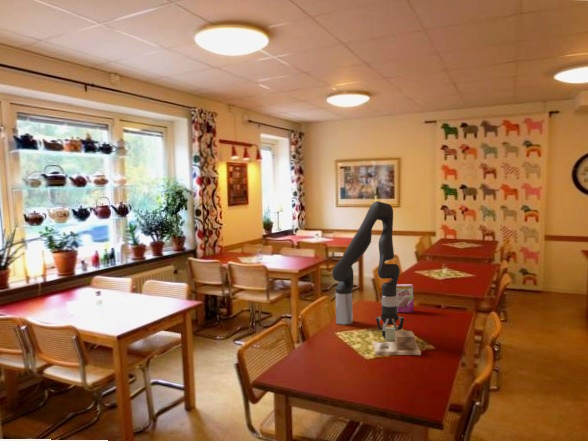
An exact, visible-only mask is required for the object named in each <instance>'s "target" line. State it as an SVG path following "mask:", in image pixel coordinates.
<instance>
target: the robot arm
mask: <svg viewBox="0 0 588 441" xmlns="http://www.w3.org/2000/svg"><path fill="white" fill-rule="evenodd" d="M377 221H381V223H382V231H381V235H380V237H379V239H378V253H379V262H378V266H377V267H378V268H377V276H378V277H379V278H380V279H385V280H387V279H390V280H389V281H387V282H384V283H382V284H381V315H380V316H376V317H375V321H376V324H377V328H378V330H379V331H381V336H382V338H383V339H385V328H386V327H387V326H388V325H391V326H393V327H394V328H395V330H396V331H402V329H403V325H404V322H405V318H404V317H403V316H399V315H398V312H397V295H396V286H397V284H398V281H399V277H400V273H401V270H400V266H399V265H398V264H396V263H386V262H387V261H390V260H394V258H395V251H394V244H393V242H394V241H393V227H394V209H393V206H392V205H391V204H389V203H386V202H382V201H374V202H373V203H372V204H371V205H370V206H369V208H368V211H367V213H366V215H365V217H364V219H363V221H362V223H361V224H360V226H359V228H358V230H357V232H356V233H355V235H354V236H353V238H352V239H351V241H350V242H349V245H348V246H347V248H346V250H345V251H344V253H343V255H342V257H341V258H340V259H339V260H338V262H337V263H336V264H335V265H334V266H333V269H332V271H331V274H332V278H333V280H334V281H336V282H337V284H336V286H335V292H334V293H335V323H336V324H337V325H343V326H344V325H345V326H346V325H352V324H353V322H354V321H353V319H354V318H353V287H354V270H353V265H354V264H355V263H356V261H357V260H359V259H360V258H361V257H362V255H364V254H365V252H366V251H367V250H368V248H369V247H370V244H371V243H372V237H373V236H372V230H373V227H374V226H375V224H376V222H377ZM381 320H382V321H383V323H382V326H381ZM397 321H398V322H399V324H398V326H397Z"/></svg>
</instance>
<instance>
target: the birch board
mask: <svg viewBox="0 0 588 441" xmlns="http://www.w3.org/2000/svg"><path fill="white" fill-rule="evenodd" d="M372 346H373V350H374V355H375V356H378V355H379V356H388V355H389V356H390V355H391V356H405V355H406V356H421V355H422V351H421V350H420V347H419V346H418V344H417V342H416V341H415V350H397V348H396V345H395V341H372Z"/></svg>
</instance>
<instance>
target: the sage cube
mask: <svg viewBox="0 0 588 441" xmlns="http://www.w3.org/2000/svg"><path fill="white" fill-rule="evenodd" d="M395 331H396V330H395V327H394V326H393V327H392V326H391V327H389V326H388V327H387V326H386V328H385V338H384V340H385V342H395Z"/></svg>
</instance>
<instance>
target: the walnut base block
mask: <svg viewBox="0 0 588 441" xmlns="http://www.w3.org/2000/svg"><path fill="white" fill-rule="evenodd" d="M394 342H395V345H396V348H397V350H415V342H416V336H415V333H414V332H413V330H398V331H395V341H394Z"/></svg>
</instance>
